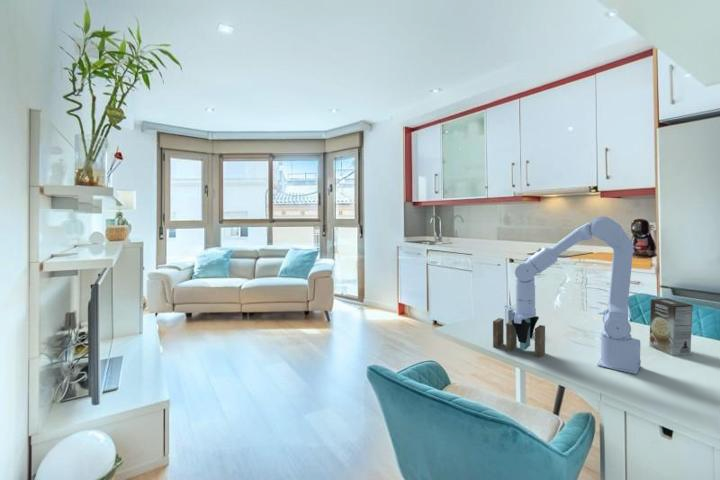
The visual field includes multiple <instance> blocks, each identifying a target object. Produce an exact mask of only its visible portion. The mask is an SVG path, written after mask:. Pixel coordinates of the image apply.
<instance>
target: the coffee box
mask: <svg viewBox="0 0 720 480" xmlns="http://www.w3.org/2000/svg"><path fill="white" fill-rule="evenodd" d="M693 306H694V305H693V304H690V303H688V302H683V301H679V300H675V299H674V298H673V299H672V298H670V297H667V298H665V297H664V298H653V299H650V318H649V319H650V322H649V326H650V327H649V347H651V348H654V349H655V350H658V351H661V352H662V353H665V354H667V355H670V356H672V357H675V356H676V357H677V356H679V357H680V356H690V355H691V352H692V351H691V350H692V331H693V330H692V329H693V328H692V327H693V309H694V307H693Z"/></svg>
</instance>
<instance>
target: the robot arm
mask: <svg viewBox="0 0 720 480" xmlns="http://www.w3.org/2000/svg"><path fill="white" fill-rule="evenodd" d="M593 236H594V237H595V238H596V239H599V240H601V241H603V242H605V244H606V245H608V246H609V247H610V248H612V250H613V251H612V261H611V272H610V273H611V275H610V282H609V283H610V284H609V285H610V286H609V295H608V304H607V309H606V311H605V313H604V314H603V316H602V322H603V324H604V325H603V328H604V329H603V330H602V331H601V335H600V336H601V337H600V339H601V345H600V359H599V361H598V362H597V367H603V368H607V369H610V370H611V369H612V370H616V371H621V372H625V373H630V374H634V375H635V374H636V375H637V374H638V372H639V369H640V366H641V363H642V361H641V340H640V339H638V338H634V337H632V335H631V332H632V326H631V324H630V322H629V297H630V286H631V277H632V276H631V275H632V266H633V265H632V264H633V254H634V243H633V241H632V240H631V238H630V237H629V235H628V234H627V232H626V231H625V230H624V228H622V226H621V224H619V223H618V222H616V221H615V220H614V219H612V218H609V217H607V216H598V217H595V218H594V219H593V220H592V221H591V222H590V221H589V222H587V223H585V224H583V225H581V226H579V227H577V228H575V229H574V230H573V231H572V232H570V233H569V234H567V235H566V236H565V237H564V238H562V239H560V240H559V242H557V243H556V244H554V245H553V246H552V247H548V246H544V247H542V248H541V247H539V248H537V249H536V252H535V253H534V254H532V255H531V256H530V257H525V258H524V262H521V263H519V264H518V265H517V266H516V268H515V271H514V275H515V277H516V282H515V283H516V284H515V305H516V310H513V311H512V313H514V314H515V317H514V319H513V320H512V324H513V326H514V328H515V330H516V333H517V340H518V341H517V342H519V343H520V342H522V343H526V341H527V334H528V330H529V327H530V339H532V338H533V336H534V332H535V328H536V325H537V322H538V321H539V319H540V318H539V316H538V315H537V308H536V285H535V277H536V274H541V273H542V272H544V271H546V270H547V269H548V268H550V267H551V266H553V265H554V264H555V263H557V262H558V256H560V255H561V254H563V253H564V252H566V251H568V250H569V249H571V248H572V247H574V246H575V245H577V244H578V243H579V242H582V241H588V240H593ZM525 319H530V323H528V322H526V321H525Z"/></svg>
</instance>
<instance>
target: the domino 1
mask: <svg viewBox="0 0 720 480" xmlns="http://www.w3.org/2000/svg"><path fill="white" fill-rule="evenodd" d="M505 330H506V331H505V336H506V338H505V339H506V340H505V341H506V342H505V349H506V351H508V352H513V350H514V349H516V348H517V344H518V341H517V340H518V337H517V333H516V330H515V328H514V326H513V324H512V320H511V321H510V322H508V323H507V324H506V326H505Z"/></svg>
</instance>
